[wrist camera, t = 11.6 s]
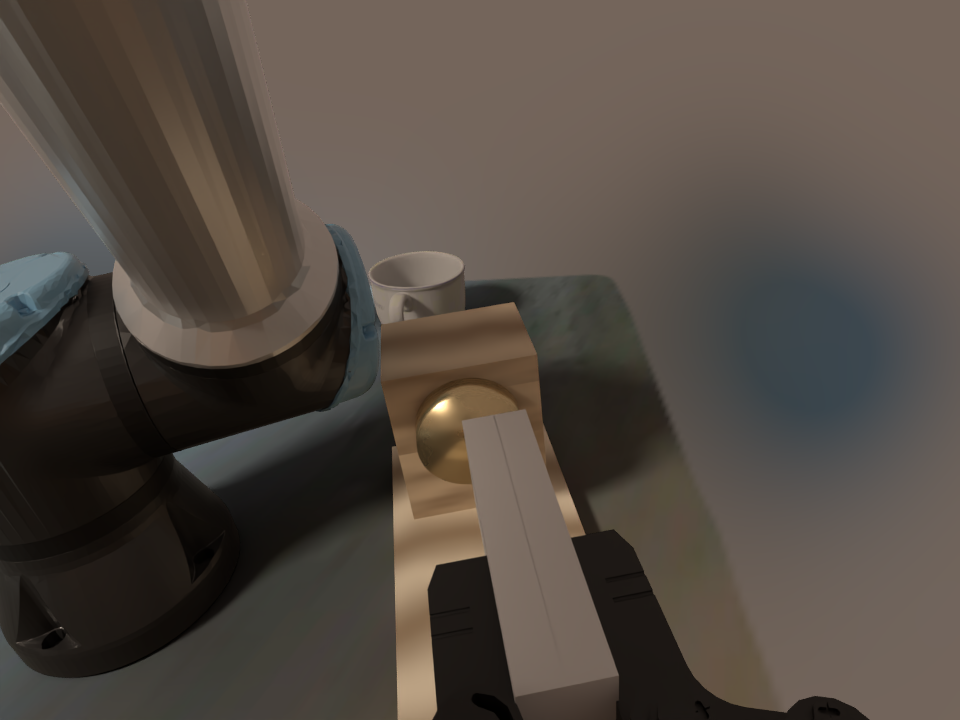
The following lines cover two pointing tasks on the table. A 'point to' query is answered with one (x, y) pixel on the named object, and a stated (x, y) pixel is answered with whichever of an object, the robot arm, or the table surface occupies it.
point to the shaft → (456, 423)
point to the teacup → (417, 286)
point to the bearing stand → (430, 500)
